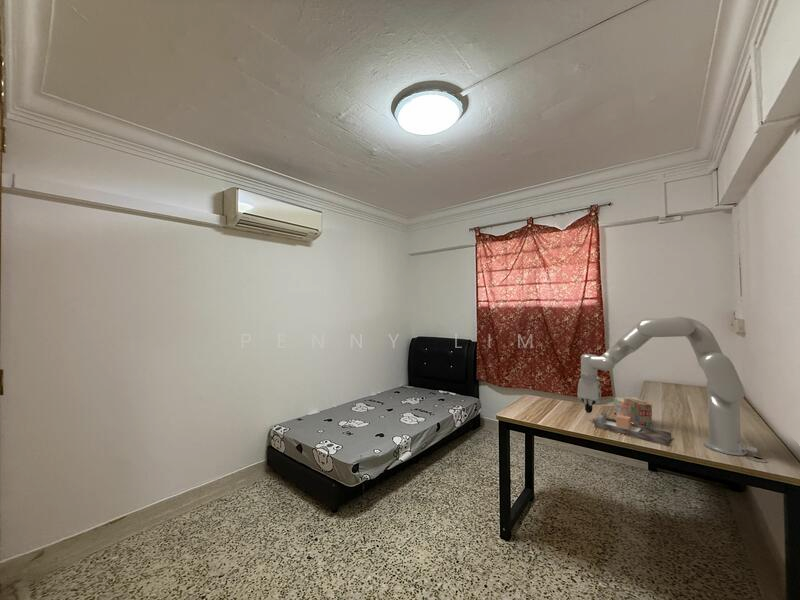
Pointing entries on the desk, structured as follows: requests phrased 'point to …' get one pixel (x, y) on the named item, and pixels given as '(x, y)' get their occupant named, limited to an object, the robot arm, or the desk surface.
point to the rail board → (644, 434)
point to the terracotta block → (623, 421)
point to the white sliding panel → (603, 419)
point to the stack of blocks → (634, 410)
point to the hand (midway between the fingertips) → (588, 412)
